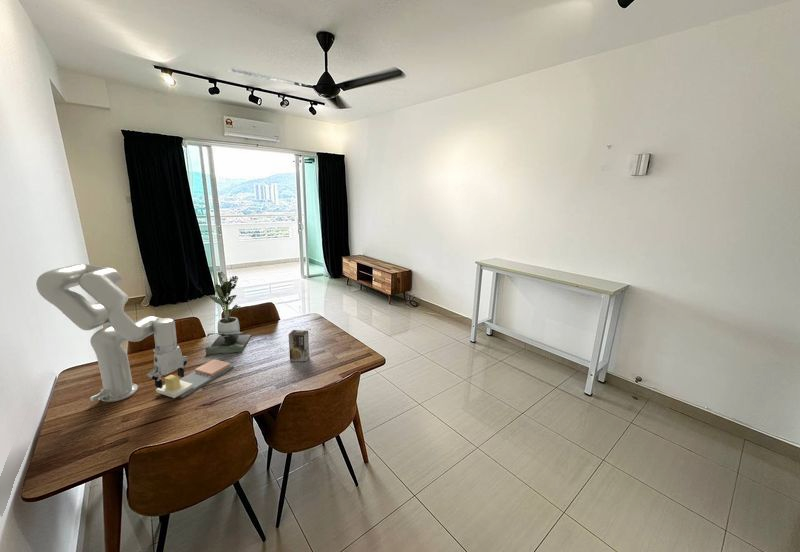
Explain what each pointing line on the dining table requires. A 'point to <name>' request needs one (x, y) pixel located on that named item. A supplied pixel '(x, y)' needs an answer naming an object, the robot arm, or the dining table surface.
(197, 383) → the board
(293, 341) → the coffee box
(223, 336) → the potted plant
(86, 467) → the dining table surface
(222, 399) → the dining table surface
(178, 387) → the butter dish
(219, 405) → the dining table surface
